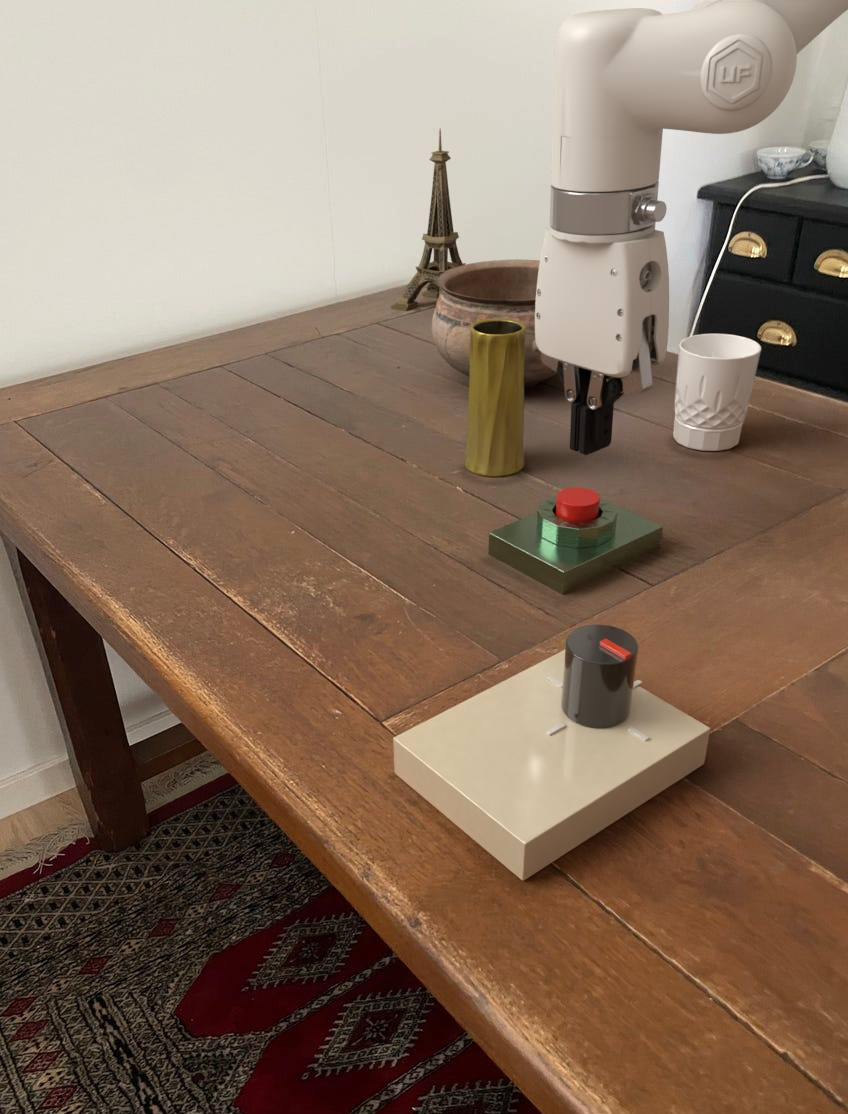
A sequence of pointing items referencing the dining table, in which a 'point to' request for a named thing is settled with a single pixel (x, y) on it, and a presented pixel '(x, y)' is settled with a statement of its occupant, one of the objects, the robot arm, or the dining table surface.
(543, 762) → the beige knob base
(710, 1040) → the dining table surface
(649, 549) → the green button box
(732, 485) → the dining table surface
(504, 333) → the vase
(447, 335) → the cooking pot
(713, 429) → the white cup
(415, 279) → the eiffel tower
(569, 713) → the stove knob
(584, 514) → the ignition button
